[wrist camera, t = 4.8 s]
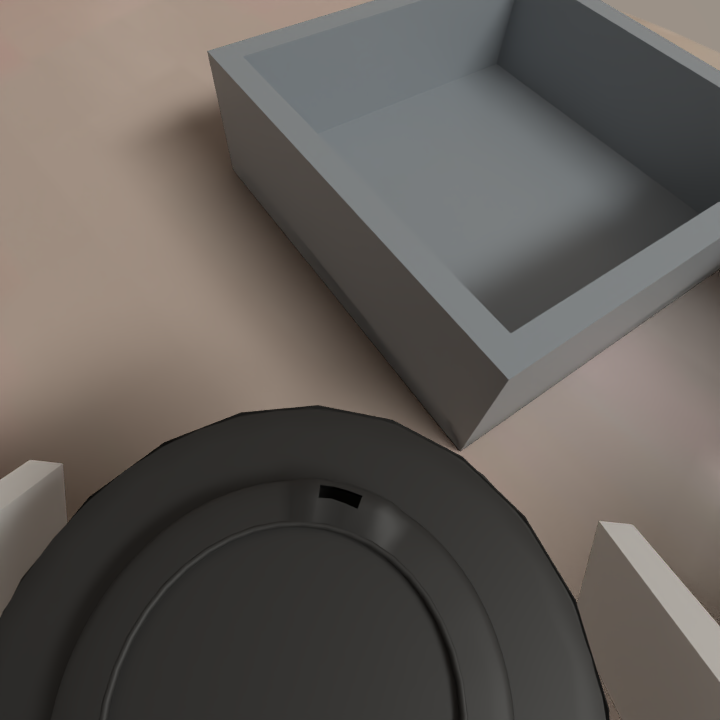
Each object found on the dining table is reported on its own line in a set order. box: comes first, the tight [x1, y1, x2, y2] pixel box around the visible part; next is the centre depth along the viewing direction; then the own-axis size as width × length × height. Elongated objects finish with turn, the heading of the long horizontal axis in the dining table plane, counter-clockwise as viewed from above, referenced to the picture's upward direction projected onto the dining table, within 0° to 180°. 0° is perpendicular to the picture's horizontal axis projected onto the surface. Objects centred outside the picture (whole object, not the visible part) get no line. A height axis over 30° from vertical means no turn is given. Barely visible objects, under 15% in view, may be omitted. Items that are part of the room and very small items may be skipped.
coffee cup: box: [0, 405, 610, 720], centre depth 9 cm, size 8×8×10 cm
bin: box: [207, 0, 720, 451], centre depth 21 cm, size 17×17×6 cm
